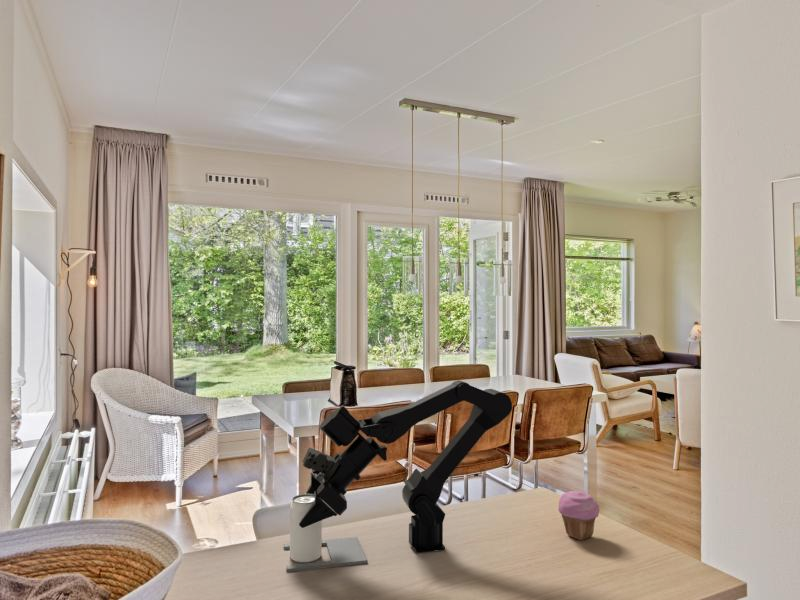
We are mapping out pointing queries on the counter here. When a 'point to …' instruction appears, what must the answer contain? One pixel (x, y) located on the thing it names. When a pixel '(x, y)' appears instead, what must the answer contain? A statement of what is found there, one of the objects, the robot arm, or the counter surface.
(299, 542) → the can
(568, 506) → the cupcake
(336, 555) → the board
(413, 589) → the counter surface
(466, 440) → the robot arm
